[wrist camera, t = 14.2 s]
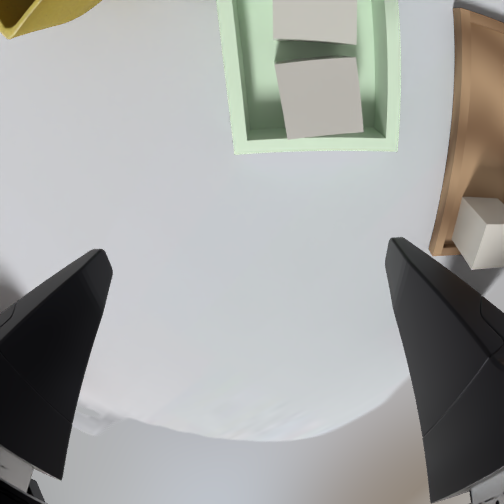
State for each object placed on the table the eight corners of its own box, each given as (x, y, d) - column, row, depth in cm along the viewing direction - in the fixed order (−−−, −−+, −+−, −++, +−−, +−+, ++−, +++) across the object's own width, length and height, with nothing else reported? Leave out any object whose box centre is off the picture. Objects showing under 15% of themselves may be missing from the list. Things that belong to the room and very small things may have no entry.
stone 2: (340, 44, 15) (356, 44, 12) (273, 40, 16) (273, 38, 12) (340, -14, 13) (356, -27, 10) (272, -18, 13) (271, -34, 10)
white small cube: (347, 115, 18) (363, 132, 15) (285, 122, 19) (287, 139, 16) (340, 54, 16) (355, 57, 13) (274, 61, 16) (274, 64, 13)
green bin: (382, 137, 19) (397, 151, 17) (239, 140, 20) (234, 154, 18) (378, -27, 12) (393, -36, 10) (220, -27, 13) (211, -38, 11)
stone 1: (486, 238, 22) (507, 266, 19) (451, 239, 23) (471, 269, 20) (497, 198, 20) (523, 224, 17) (462, 196, 20) (486, 224, 17)
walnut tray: (493, 246, 23) (498, 252, 23) (428, 248, 24) (432, 256, 23) (528, 35, 12) (535, 37, 11) (453, 8, 13) (460, 7, 12)
